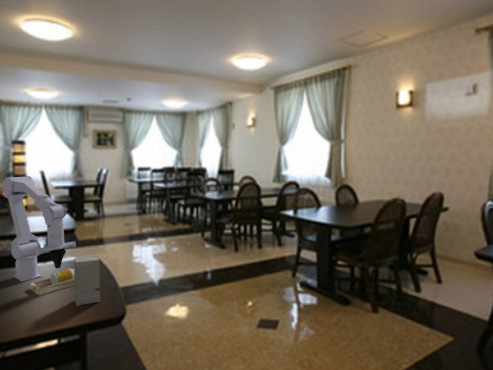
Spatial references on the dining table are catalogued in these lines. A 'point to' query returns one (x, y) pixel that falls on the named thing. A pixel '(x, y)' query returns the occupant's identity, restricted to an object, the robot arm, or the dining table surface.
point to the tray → (40, 291)
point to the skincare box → (87, 280)
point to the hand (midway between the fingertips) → (57, 267)
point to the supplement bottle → (62, 276)
